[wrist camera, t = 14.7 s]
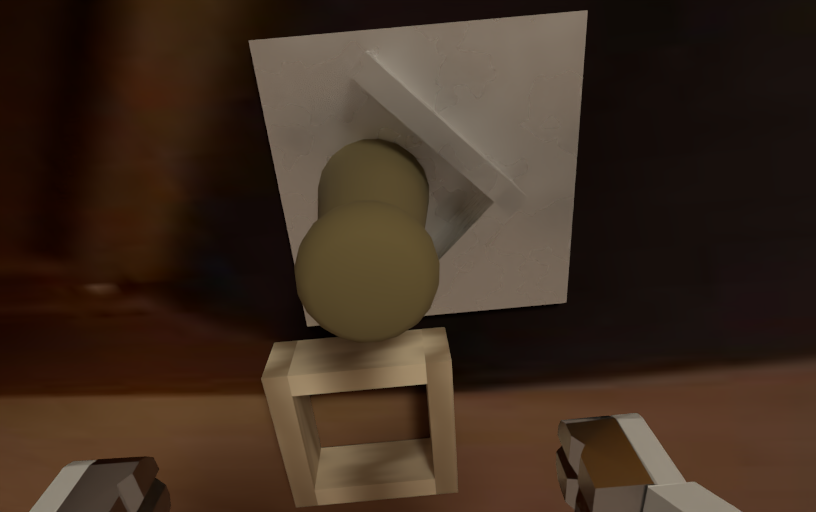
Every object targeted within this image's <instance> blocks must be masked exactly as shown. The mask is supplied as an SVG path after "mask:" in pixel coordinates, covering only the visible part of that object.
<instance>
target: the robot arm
mask: <svg viewBox="0 0 816 512" xmlns="http://www.w3.org/2000/svg"><path fill="white" fill-rule="evenodd" d="M558 437H559V440H560V442H561V444H562V446H561V447H560V448H559V449H558V450H557V451H556V468H557V476H558V481H559V484H560V488H561V491H562V494H563V497H564V500H565V502H566V503H567V504H569V505H570V506H571V507H572V508H573V509H575V512H742V511H740V510H739V509H737V508H735V507H734V506H732V505H731V504H729V503H727V502H726V501H724V500H723V499H721V498H720V497H718V496H716V495H715V494H713V493H712V492H710V491H708V490H707V489H705V488H704V487H702V486H701V485H699V484H697V483H696V482H686V481H685V479H684V478H683V476H682V475H681V473H680V472H679V470H678V469H677V468H676V466H675V465H674V463H673V462H672V460H671V459H670V457H669V456H668V454H667V453H666V451H665V450H664V448H663V447H662V446H661V444H660V443H659V441H658V440H657V438H656V437H655V435H654V434H653V432H652V431H651V429H650V428H649V426H648V425H647V423H646V422H645V421H644V419H643V418H642V416H640V415H639V414H637V413H632V414H622V415H611V416H600V417H590V418H580V419H569V420H561V421H560V423H559V425H558ZM158 471H159V468H158V466H157V464H156V462H155V460H154V458H153V457H129V458H112V459H98V460H87V461H73V462H71V463H70V464H68V465H67V466H65V467H64V468H63V469H62V470H61V472H60V473H59V474H58V475H57V477H56V478H55V479H54V481H53V482H52V483H51V484H50V486H49V487H48V488H47V490H46V491H45V492H44V493H43V495H42V496H41V497H40V499H39V500H38V501H37V503H36V504H35V505H34V506H33V508H32V509H31V510H30V512H170V507H171V502H170V494H169V491H168V489H167V486H166V485H165V484H164V483H162V482H161V481H159V480H158V479H156V478H155V477H156V475H157V473H158Z"/></svg>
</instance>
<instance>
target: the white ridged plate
mask: <svg viewBox="0 0 816 512" xmlns="http://www.w3.org/2000/svg"><path fill="white" fill-rule="evenodd" d="M587 12H588V10H587V11H576V12H564V13H553V14H542V15H531V16H520V17H508V18H497V19H486V20H475V21H464V22H452V23H441V24H430V25H419V26H408V27H396V28H385V29H374V30H363V31H351V32H340V33H329V34H318V35H307V36H295V37H284V38H273V39H262V40H251V41H249V45H250V50H251V55H252V60H253V65H254V70H255V74H256V79H257V84H258V89H259V94H260V99H261V104H262V109H263V113H264V118H265V123H266V128H267V133H268V138H269V143H270V148H271V152H272V157H273V162H274V167H275V172H276V177H277V182H278V186H279V191H280V196H281V201H282V206H283V211H284V216H285V221H286V225H287V230H288V235H289V240H290V245H291V250H292V255H293V260H294V264H295V262H296V258H297V253H298V249H299V246H300V244H301V242H302V240H303V238H304V237H305V235H306V234H307V232H308V231H309V229H310V228H311V226H312V225H313V223H314V222H316V221H317V220H318V185H319V181H320V177H321V173H322V170H323V169H324V167H325V165H326V164H327V162H328V161H329V159H330V158H331V156H332V155H334V154H335V153H336V152H338V151H339V150H340V149H341V148H343V147H344V146H345V145H348V144H351V143H354V142H356V141H359V140H362V139H382V140H386V141H389V142H392V143H396V144H399V145H400V146H401V147H403V148H404V149H406V150H407V151H409V152H410V153H411V154H413V155H414V157H415V158H416V159H417V161H418V162H419V163H420V165H421V166H422V167H423V169H424V171H425V174H426V178H427V181H428V184H429V204H428V211H427V218H426V225H425V230H426V231H427V232H428V234H429V235H430V236H431V238H432V241H433V244H434V247H435V250H436V253H437V256H438V259H439V263H440V270H439V286H438V289H437V292H436V295H435V297H434V300H433V302H432V305H431V308H430V309H429V310H428V312H427V313H426V314H425V315H424V316H427V315H438V314H449V313H460V312H471V311H482V310H493V309H504V308H514V307H525V306H536V305H547V304H558V303H566V299H567V285H568V272H569V258H570V244H571V231H572V217H573V203H574V190H575V176H576V162H577V149H578V135H579V121H580V108H581V94H582V80H583V67H584V53H585V39H586V26H587ZM303 308H304V306H303ZM304 313H305V318H306V323H307V327H308V326H319V324H318V323H317V322H316V321H315V320H314V319H313V318H312V317H311V316H310V315H309V314H308V313H307V312H306V310H305V308H304Z"/></svg>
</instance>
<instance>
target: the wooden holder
mask: <svg viewBox="0 0 816 512" xmlns="http://www.w3.org/2000/svg"><path fill="white" fill-rule="evenodd" d="M261 380H262V383H263V387H264V391H265V394H266V398H267V402H268V405H269V409H270V413H271V417H272V420H273V424H274V428H275V431H276V435H277V439H278V442H279V446H280V450H281V454H282V457H283V461H284V465H285V468H286V472H287V476H288V480H289V483H290V487H291V491H292V494H293V498H294V502H295V505H296V507H307V506H317V505H328V504H339V503H349V502H360V501H371V500H381V499H392V498H403V497H413V496H424V495H435V494H445V493H456V492H458V478H457V458H456V438H455V419H454V399H453V379H452V361H451V356H450V351H449V346H448V341H447V336H446V331H445V327H440V328H429V329H418V330H407V331H405V332H404V333H402V334H401V335H399V336H397V337H394V338H391V339H387V340H384V341H381V342H364V343H359V342H355V341H351V340H346V339H342V338H340V337H331V338H320V339H309V340H299V341H288V342H277V343H274V345H273V348H272V351H271V353H270V356H269V359H268V362H267V364H266V367H265V370H264V372H263V375H262V378H261ZM421 384H426V391H427V403H428V415H429V427H430V438H424V439H413V440H403V441H392V442H381V443H370V444H360V445H349V446H338V447H327V448H321V445H320V440H319V436H318V431H317V427H316V422H315V418H314V413H313V408H312V404H311V399H310V395H313V394H323V393H334V392H345V391H356V390H367V389H377V388H388V387H399V386H410V385H421Z"/></svg>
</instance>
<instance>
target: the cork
mask: <svg viewBox="0 0 816 512" xmlns="http://www.w3.org/2000/svg"><path fill="white" fill-rule="evenodd" d="M428 204H429V184H428V181H427V178H426V174H425V171H424V169H423V167H422V166H421V165H420V163H419V162H418V161H417V159H416V158H415V157H414V155H413V154H411V153H410V152H409V151H407V150H406V149H404V148H403V147H401V146H400V145H399V144H396V143H392V142H389V141H386V140H382V139H362V140H359V141H356V142H354V143H351V144H348V145H345V146H344V147H343V148H341V149H340V150H339V151H338V152H336V153H335V154H334V155H332V156H331V158H330V159H329V161H328V162H327V164H326V165H325V167H324V169H323V170H322V173H321V177H320V181H319V185H318V220H317V221H316V222H314V223H313V225H312V226H311V228H310V229H309V231H308V232H307V234H306V235H305V237H304V238H303V240H302V242H301V244H300V246H299V249H298V253H297V258H296V262H295V266H294V270H295V278H296V285H297V293H298V296H299V298H300V300H301V302H302V304H303V306H304V308H305V310H306V312H307V313H308V314H309V315H310V316H311V317H312V318H313V319H314V320H315V321H316V322H317V323H318V324H319V325H320V326H321V327H322V328H324V329H325V330H327V331H329V332H331V333H332V334H334V335H336V336H338V337H340V338H342V339H346V340H351V341H355V342H359V343H364V342H381V341H384V340H387V339H391V338H394V337H397V336H399V335H401V334H402V333H404V332H405V331H407V330H408V329H410V328H412V327H413V326H415V325H416V324H418V323H419V321H420V320H421V319H422V318H423V317H424V315H425V314H426V313H427V312H428V310H429V309H430V308H431V305H432V302H433V300H434V297H435V295H436V292H437V289H438V286H439V270H440V263H439V259H438V256H437V253H436V250H435V247H434V244H433V241H432V238H431V236H430V235H429V234H428V232H427V231H426V230H425V225H426V218H427V211H428Z"/></svg>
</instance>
